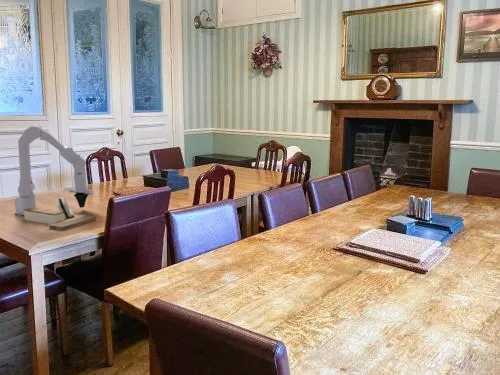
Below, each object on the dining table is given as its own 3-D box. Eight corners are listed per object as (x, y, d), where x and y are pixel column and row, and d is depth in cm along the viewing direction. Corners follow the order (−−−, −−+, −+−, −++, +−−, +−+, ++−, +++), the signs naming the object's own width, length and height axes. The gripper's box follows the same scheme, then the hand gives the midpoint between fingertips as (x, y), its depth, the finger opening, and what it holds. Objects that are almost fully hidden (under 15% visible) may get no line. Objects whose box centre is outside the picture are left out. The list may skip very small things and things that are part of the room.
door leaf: (49, 228, 207) (48, 225, 206) (82, 218, 225) (82, 215, 224) (62, 230, 203) (62, 227, 203) (95, 219, 221) (95, 216, 221)
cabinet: (24, 219, 221) (23, 209, 220) (33, 217, 225) (32, 207, 224) (55, 224, 212) (54, 214, 212) (64, 222, 217) (63, 211, 216)
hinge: (75, 218, 224) (66, 199, 221) (65, 222, 223) (56, 203, 220) (73, 210, 239) (64, 193, 236) (64, 214, 238) (55, 196, 235)
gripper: (97, 181, 238) (98, 207, 240) (75, 178, 244) (77, 204, 246) (86, 183, 231) (88, 209, 234) (65, 180, 238) (67, 206, 240)
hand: (82, 207), depth 240 cm, fingers closed
